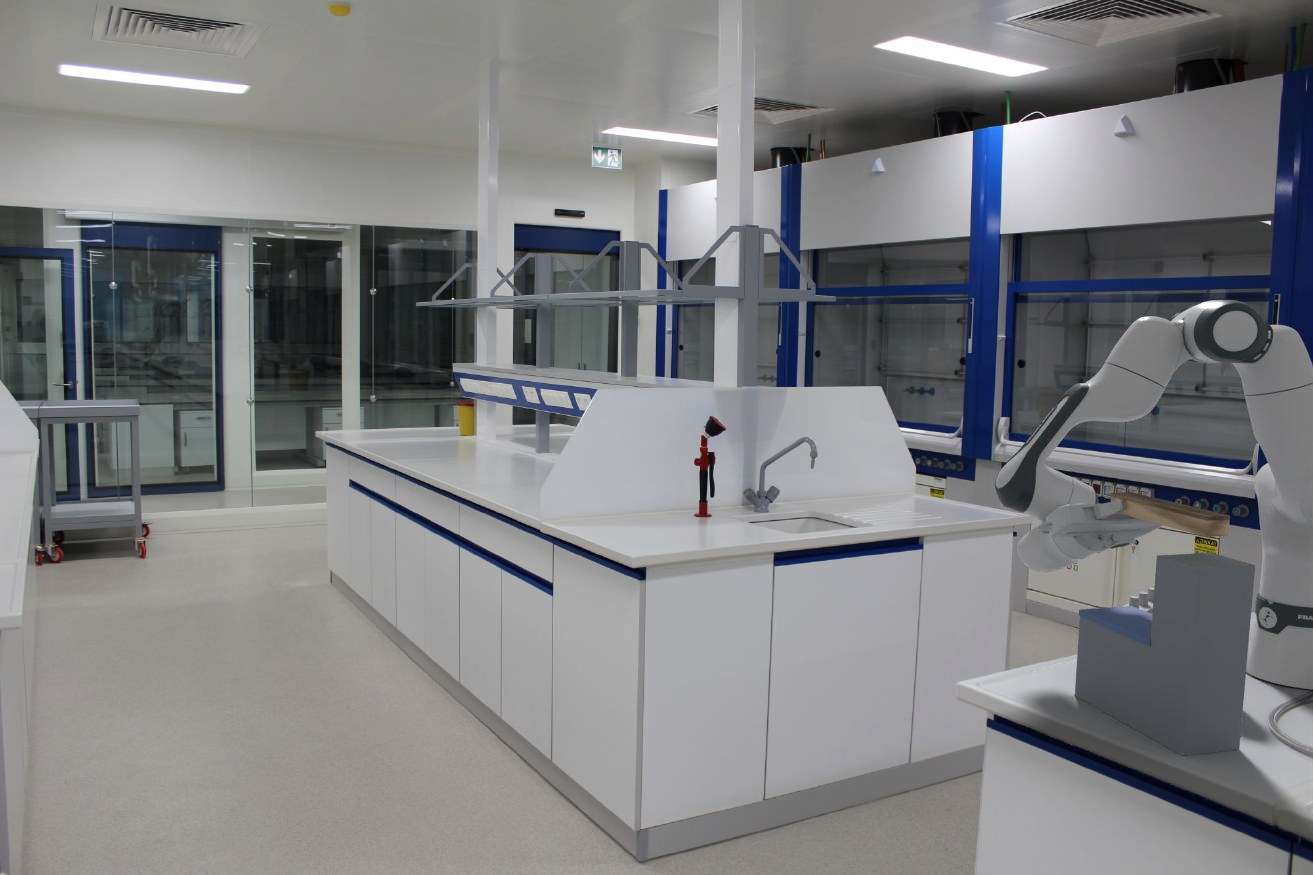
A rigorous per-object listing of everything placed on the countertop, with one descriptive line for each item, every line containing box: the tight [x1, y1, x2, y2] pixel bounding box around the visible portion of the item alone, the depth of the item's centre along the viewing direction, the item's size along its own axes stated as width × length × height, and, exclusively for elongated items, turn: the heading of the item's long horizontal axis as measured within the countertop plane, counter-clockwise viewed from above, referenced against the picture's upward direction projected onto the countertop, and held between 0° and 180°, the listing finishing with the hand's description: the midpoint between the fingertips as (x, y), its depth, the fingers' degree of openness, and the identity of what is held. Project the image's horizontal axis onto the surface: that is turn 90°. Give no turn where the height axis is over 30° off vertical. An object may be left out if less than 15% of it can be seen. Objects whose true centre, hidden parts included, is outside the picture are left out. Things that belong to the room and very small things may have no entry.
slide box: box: [1110, 491, 1231, 538], centre depth 153 cm, size 4×20×3 cm, turn 15°
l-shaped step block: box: [1074, 552, 1256, 757], centre depth 155 cm, size 10×24×28 cm, turn 15°
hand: (1137, 502), depth 159 cm, fingers closed on slide box, 4 cm apart
